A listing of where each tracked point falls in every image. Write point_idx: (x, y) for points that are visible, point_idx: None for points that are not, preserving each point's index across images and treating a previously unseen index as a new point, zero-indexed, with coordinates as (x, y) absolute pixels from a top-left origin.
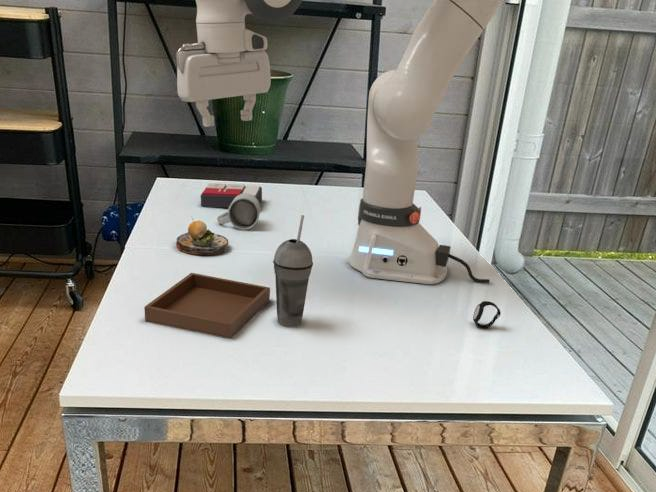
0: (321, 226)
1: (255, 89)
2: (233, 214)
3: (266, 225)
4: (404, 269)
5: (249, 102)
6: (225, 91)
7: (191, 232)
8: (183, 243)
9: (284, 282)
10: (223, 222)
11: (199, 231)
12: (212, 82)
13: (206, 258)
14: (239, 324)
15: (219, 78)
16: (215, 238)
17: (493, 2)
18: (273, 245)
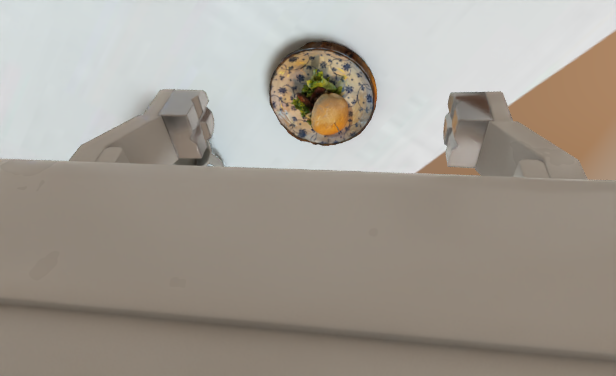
0: (32, 62)
1: (47, 173)
2: (195, 162)
3: None
4: None
5: (130, 158)
6: (364, 197)
7: (347, 111)
8: (354, 117)
9: None
10: (219, 160)
11: (336, 100)
12: (535, 281)
13: (358, 37)
14: None
15: (427, 303)
16: (282, 104)
17: None
18: (180, 24)
